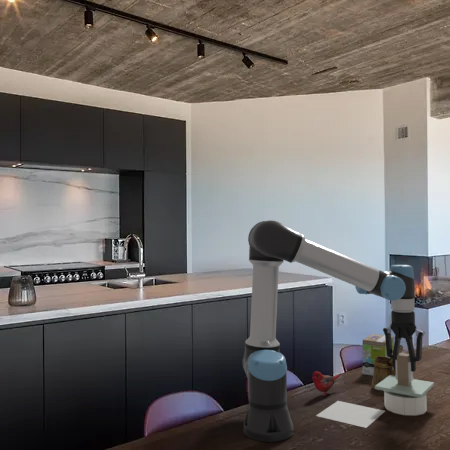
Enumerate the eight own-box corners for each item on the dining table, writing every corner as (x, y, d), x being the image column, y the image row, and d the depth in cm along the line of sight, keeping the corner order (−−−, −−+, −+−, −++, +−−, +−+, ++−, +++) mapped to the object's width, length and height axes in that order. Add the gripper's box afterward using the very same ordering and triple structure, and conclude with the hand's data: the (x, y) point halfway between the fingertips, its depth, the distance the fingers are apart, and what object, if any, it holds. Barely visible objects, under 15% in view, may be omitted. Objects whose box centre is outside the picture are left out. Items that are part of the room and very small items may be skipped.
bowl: (379, 411, 161) (379, 393, 161) (392, 400, 171) (392, 383, 172) (419, 419, 153) (419, 400, 153) (430, 407, 164) (430, 389, 164)
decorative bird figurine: (309, 399, 174) (308, 371, 174) (338, 388, 185) (337, 362, 185) (315, 401, 171) (314, 373, 172) (344, 390, 183) (344, 364, 183)
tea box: (386, 378, 197) (385, 342, 198) (362, 374, 203) (361, 339, 203) (394, 368, 210) (393, 335, 210) (371, 365, 216) (370, 332, 216)
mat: (315, 417, 157) (315, 415, 157) (337, 402, 170) (337, 400, 170) (366, 429, 147) (366, 427, 147) (385, 412, 160) (385, 410, 160)
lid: (374, 388, 161) (374, 356, 161) (390, 377, 173) (389, 347, 173) (421, 397, 152) (420, 362, 152) (434, 385, 164) (433, 353, 164)
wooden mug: (394, 395, 176) (393, 346, 176) (366, 386, 188) (365, 339, 188) (410, 391, 180) (409, 343, 181) (382, 382, 192) (381, 337, 192)
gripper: (431, 311, 161) (433, 381, 160) (382, 307, 171) (384, 373, 171) (425, 314, 155) (426, 387, 155) (374, 309, 165) (376, 378, 165)
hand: (404, 379), depth 163 cm, fingers closed on lid, 3 cm apart
